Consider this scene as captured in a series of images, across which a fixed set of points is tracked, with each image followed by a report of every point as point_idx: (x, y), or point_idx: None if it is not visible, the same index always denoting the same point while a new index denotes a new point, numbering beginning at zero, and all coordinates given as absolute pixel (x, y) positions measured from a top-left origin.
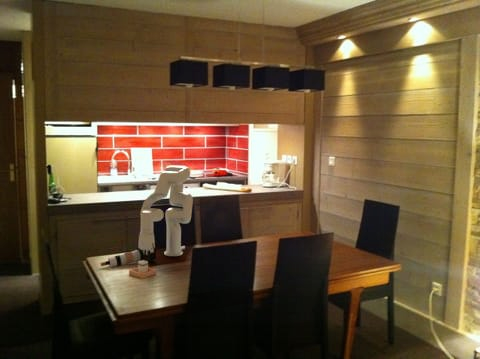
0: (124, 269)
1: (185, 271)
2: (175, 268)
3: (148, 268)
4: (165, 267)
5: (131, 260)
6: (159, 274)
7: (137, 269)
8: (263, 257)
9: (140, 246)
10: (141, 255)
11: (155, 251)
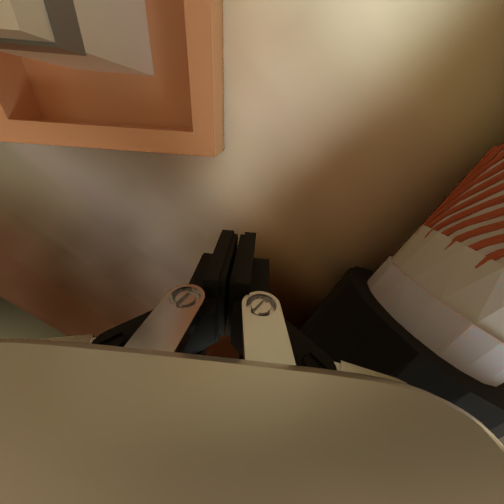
0: (436, 4)
1: (7, 298)
2: (93, 308)
3: (100, 125)
4: (150, 293)
5: (453, 206)
6: (15, 145)
7: (190, 5)
8: None
9: (389, 494)
10: (366, 312)
11: None
